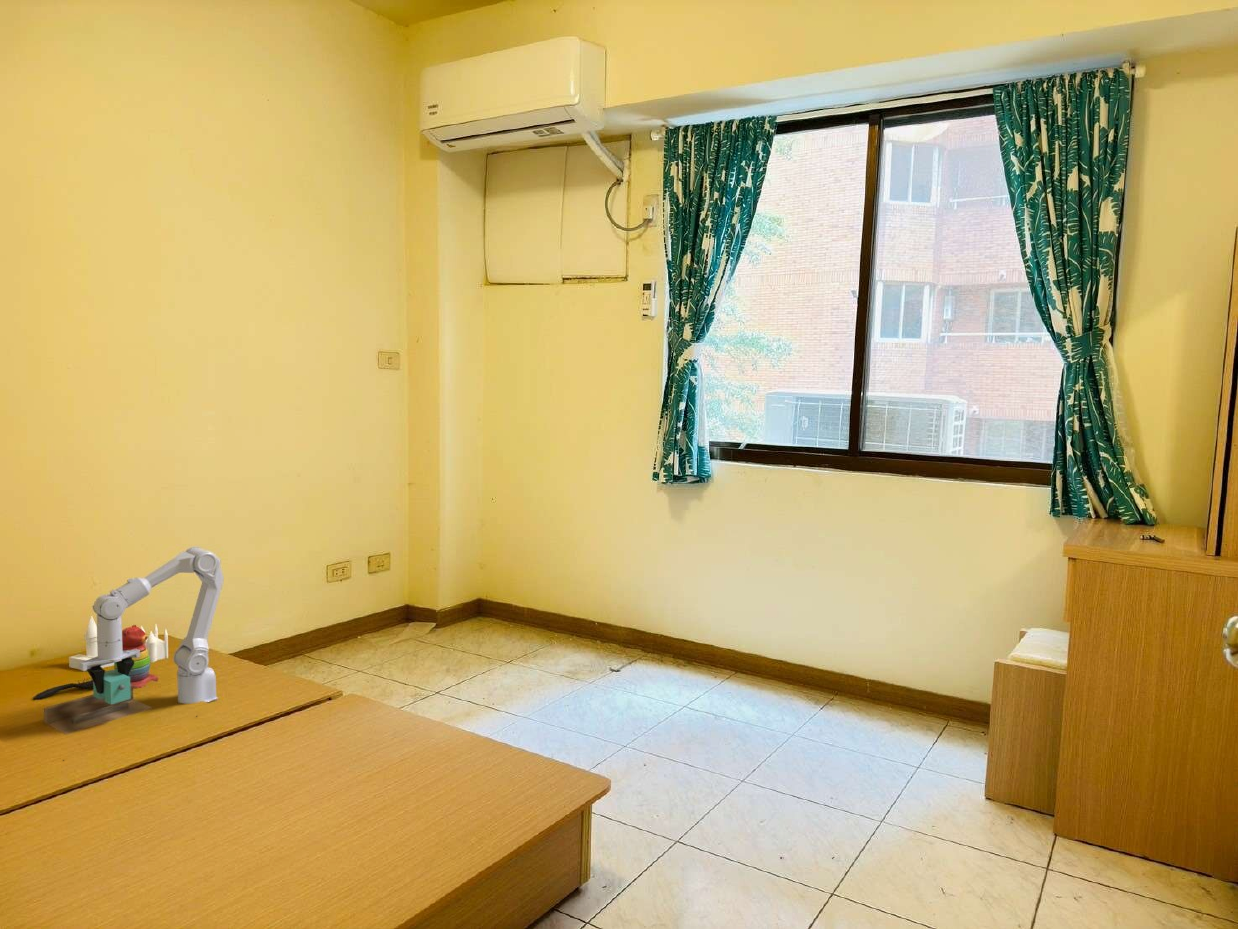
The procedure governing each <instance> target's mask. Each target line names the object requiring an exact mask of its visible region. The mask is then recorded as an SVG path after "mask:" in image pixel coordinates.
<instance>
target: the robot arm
mask: <svg viewBox="0 0 1238 929" xmlns="http://www.w3.org/2000/svg"><path fill="white" fill-rule="evenodd" d="M221 562H222V561H221V559H220V558H219V557H218V556H217V555H216V554H215V552H213V551H210V550H207V549H204V548H202V547H199V546H191V547H189V548H187V549H186V550H185V551H182V552H179V553H178V554H177V555H176V556H175V557H173V558H172V559H170V560H169V561H168V562H166V563H164V564H163V565H162V566H159V567H158V568H157V569H155V570H153V571H152V572H150V573H149V574H148V575H146V576H145V577H138V576H137V577H135V578H133V577H130V578H129V579H127V580H126V581H127V582H126V583H125V584H123V585H120V586H119V587H117V588H116V589H111V590H109V593H107V594H106V593H105V594H101V595H100V596H98V597H97V598H96V599H95V601H94V604H93V605H92V606H91V607H92V611H93V612H94V613H95V614H96V626H97V651H98V656H97V657H94V658H92V659H89V660H86V661H83V662H79V669H78V670H79V671H83V672H87V673H88V675H89V676H90V679H91V678H92V680H93V682H94V684H95V687H96V690H97V693H100V694H102V693H103V692H104V683H103V681H104V673H105V671H106V670H105V669H104V668H102V667H101V666H102V665H106V664H110V663H114V662H116V664H117V669H118V672H119V673H122V674H124V675H126V676H128V675H129V673H130V670H131V669H132V667H133V665H134V660H132V658H134V657H135V658H138V657H140V650H138V649H133V650H127V651H123V649H122V630H123V626H122V625H123V621H122V616H123V614H124V613H125V611H126V609H128V608H130V607H131V606H132V605H134V604H136V603H138V602H140V601H141V600H143V599H144V598H146V597H148V596H149V595H150V593H151V591H152V589H153V588H155V587H156V586H158V585H160V584H161V583H163V582H165V581H167V580H169V579H171V578H172V577H174V576H177V574H180V573H181V574H182V573H183V574H185V573H186V574H192V573H193V574H194V573H195V575H196V576H197V577H198V578H199V580H200V581H201V585H200V588H199V592H198V596H197V599H196V603H195V606H194V610H193V614H192V617H191V620H190V623H189V627H188V631H187V635H186V636H185V637H184V638H183V639H182V640H181V642H180V645H179V646H178V648H177V649H176V650H175V652H174V654H173V662H174V664H175V665H176V666H177V667H178V668H177V672H176V674H177V675H176V676H177V677H176V678H177V702H178V703H180V704H182V705H183V704H186V705H188V704H189V705H191V704H197V703H199V702H205V703H210V702H213V701H217V700H218V696H217V678H216V674H215V671H214V669H213V668H211V667H209V666H208V665H209V662H210V661H209V651H210V648H209V644H208V638H209V637H208V636H209V633H210V630H211V627H212V622H213V621H214V620H213V619H214V616H215V613H216V609H217V606H218V602H219V598H220V594H221V590H222V587H223V584H224V579H225V578H224V574H223V570H222V567H221ZM86 670H87V671H86Z"/></svg>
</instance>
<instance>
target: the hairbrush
mask: <svg viewBox="0 0 1238 929" xmlns="http://www.w3.org/2000/svg"><path fill="white" fill-rule="evenodd" d="M73 688H75V689H80V690H87V691H90V690H91V691H92V690H93V680H92V678H91V677H90V678H89V677H87V678H84V679H83V680H82V682H81V681H78V682H77V683H76V682H75V683H73V682H72V683H70V682H69V683H66V684H62V685H58V686H54V687H51V688H47V689H46V690H44V691H41V692H39V693H37V694H35V696H33V697H32V700H34V701H36V700H37V701H39V700H44V699H46V698H48V697H50V696H53V695H55V694H57V693H59V692H62V691H66V690H69V689H73Z"/></svg>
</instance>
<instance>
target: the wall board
mask: <svg viewBox="0 0 1238 929" xmlns="http://www.w3.org/2000/svg"><path fill="white" fill-rule="evenodd" d="M130 692H131V699H128V700H125V701H122V702H118V703H115V704H109V703H107V702H105V698H102V699H98V698H96V697H94V693H93V694H91V695H90V694H89V695H86V696H82V697H80V698H76V699H72V700H68V701H64V702H60V703H58V704H54V705H49V706H45V707H43V717H44V720H43V721H44V724H46V725H48V726H49V727H52V728H53V729H55V730H57V731H59V732H61V733H63V734H65V735H69V734H72V733H75V732H79V731H82V730H85V729H88V728H91V727H94V726H98V725H101V724H102V725H103V724H104V723H105V724H106V723H109V722H111V721H115V720H118V719H122V718H124V717H128V716H132V715H135V714H137V713H142V712H144V711H148V710H151V709H153V706H150V705H149V704H148V705H147V704H145V703H143V702H141V701H139V700H136V699H134V689H133V685H131V684H130ZM124 703H128V704H129V708H127V709H123V710H120V711H117V712H113V713H110V714H106V715H103V716H100V717H96V718H93V719H90V720H86V721H83V722H80V723H76V724H72V723H71V719H72V718H76V717H79V716H82V715H86V714H89V713H93V712H96V711H100V710H103V709H106V708H110V707H113V706H117V705H120V704H124Z"/></svg>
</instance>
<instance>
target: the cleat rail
mask: <svg viewBox="0 0 1238 929" xmlns="http://www.w3.org/2000/svg"><path fill="white" fill-rule="evenodd" d="M127 708H129V704H128V703H124V704H120V705H117V706H113V707H110V708H106V709H103V710H100V711H96V712H93V713H89V714H86V715H82V716H79V717H76V718H72V719H71V723H72V724H76V723H80V722H83V721H86V720H90V719H93V718H96V717H100V716H103V715H106V714H110V713H113V712H117V711H120V710H123V709H127Z"/></svg>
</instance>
